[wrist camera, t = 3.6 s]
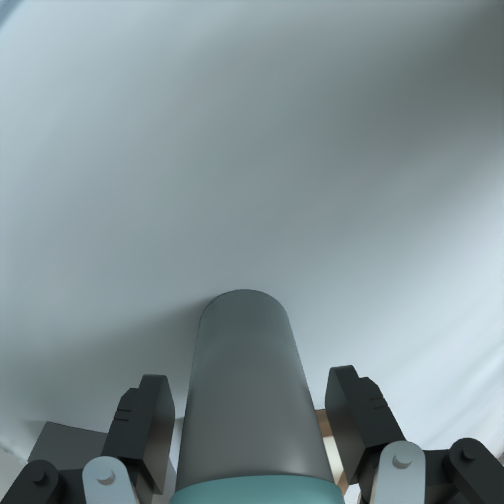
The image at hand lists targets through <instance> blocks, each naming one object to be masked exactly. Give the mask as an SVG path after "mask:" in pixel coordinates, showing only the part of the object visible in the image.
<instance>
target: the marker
mask: <svg viewBox="0 0 504 504" xmlns="http://www.w3.org/2000/svg"><path fill="white" fill-rule="evenodd" d="M169 504H345V502H344V498H343V495H342V492H341V489H340V488H339V487H338V486H337V485H335V481H334V477H333V474H332V470H331V466H330V463H329V459H328V456H327V452H326V448H325V445H324V441H323V437H322V434H321V430H320V427H319V423H318V420H317V416H316V412H315V409H314V405H313V402H312V398H311V395H310V391H309V388H308V384H307V381H306V377H305V374H304V371H303V367H302V364H301V360H300V357H299V353H298V350H297V346H296V343H295V340H294V336H293V333H292V329H291V326H290V323H289V319H288V316H287V314H286V311H285V310H284V308H283V307H282V305H281V304H280V303H279V302H278V301H277V300H275V299H274V298H273V297H271V296H269V295H267V294H265V293H262V292H259V291H255V290H235V291H231V292H228V293H225V294H223V295H221V296H219V297H217V298H216V299H214V300H213V301H212V302H211V303H210V304H209V305H208V306H207V307H206V309H205V310H204V312H203V314H202V316H201V320H200V324H199V330H198V336H197V342H196V347H195V353H194V359H193V365H192V372H191V378H190V384H189V390H188V397H187V404H186V410H185V417H184V424H183V431H182V438H181V445H180V453H179V461H178V468H177V476H176V485H175V493H174V495H173V496H172V497H171V498H170V501H169Z"/></svg>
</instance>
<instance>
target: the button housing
mask: <svg viewBox="0 0 504 504" xmlns="http://www.w3.org/2000/svg"><path fill="white" fill-rule="evenodd" d="M107 435H108V434H106V433H100V432H94V431H88V430H83V429H78V428H73V427H68V426H63V425H59V424H55V423H51V422H46V424H45V426H44V428H43V430H42V432H41V434H40V436H39V438H38V440H37V442H36V444H35V446H34V448H33V450H32V452H31V454H30V456H29V458H28V460H27V461H28V462H31V461H34V460H46V461H49V462H50V463H52V464H53V465H54V466H55V467H56V469H57V470H70V469H82V468H84V467H85V466H86V465H87V463H88V462H90V461H91V460H93V459H95V458H97V457H100V455H101V453H102V450H103V447H104V444H105V441H106V438H107ZM176 476H177V474H176V472H175V470H174V468H173V465H172V463H171V461H170V458H168V465H167V471H166V478H165V485H164V492H163V495H157V494H153V497H152V504H169V501H170V498H171V497H172V496H173V495H174V493H175V485H176Z"/></svg>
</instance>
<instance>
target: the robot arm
mask: <svg viewBox="0 0 504 504" xmlns="http://www.w3.org/2000/svg"><path fill="white" fill-rule="evenodd" d="M325 410H326V415H327V418H328V421H329V424H330V427H331V430H332V434H333V437H334V440H335V443H336V446H337V450H338V453H339V456H340V459H341V463H342V466H343V469H344V473H345V476H346V479H347V482H348V485H353V484H357V483H359V486H360V489H361V492H360V494H359V496H358V501H357V504H504V467H503V466H502V464H501V463H500V462H499V461H498V460H497V459H496V458H495V457H494V456H493V455H492V454H491V453H490V451H489V450H488V449H487V448H486V447H485V446H484V445H483V444H482V443H481V442H480V441H478V440H476V439H473V438H462V439H459V440H458V441H456V442H455V443H454V444H453V445H452V446H451V448H450V449H446V450H422V449H421V448H420V447H419V446H418V445H416V444H415V443H412V442H409V441H407V440H406V439H405V437H404V435H403V433H402V431H401V429H400V427H399V425H398V423H397V421H396V419H395V417H394V416H393V414H392V412H391V410H390V408H389V407H388V404H387V402H386V400H385V398H383V395H382V393H381V391H380V389H379V387H378V385H377V384H375V383H374V382H373V381H372V380H370V379H369V378H368V377H363V378H359V377H358V374H357V372H356V370H355V368H354V367H353V366H352V365H347V366H340V367H332V368H330V371H329V376H328V383H327V389H326V394H325ZM174 422H175V407H174V403H173V399H172V395H171V391H170V388H169V384H168V380H167V377H166V376H165V375H147V374H145V375H143V377H142V380H141V383H140V386H139V388H130V389H129V390H128V391H127V392H126V393H125V394H124V395H123V396H122V397H121V399H120V402H119V404H118V407H117V411H116V413H115V415H114V420H113V421H112V424H111V426H110V429H109V432H108V435H107V438H106V441H105V444H104V447H103V450H102V453H101V455H100V457H97V458H95V459H93V460H91V461H90V462H88V463H87V465H86V466H85V467H84V468H82V469H70V470H57V469H56V467H55V466H54V465H53V464H52V463H50V462H49V461H46V460H34V461H31V462H29V463H28V464H27V465H26V466H25V467H24V468H23V470H22V471H21V472H20V474H19V475H18V477H17V478H16V480H15V481H14V483H13V484H12V486H11V487H10V489H9V490H8V492H7V493H6V495H5V496H4V498H3V499H2V501H1V502H0V504H152V497H153V494H157V495H163V492H164V485H165V478H166V471H167V465H168V458H169V452H170V446H171V440H172V434H173V428H174Z"/></svg>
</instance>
